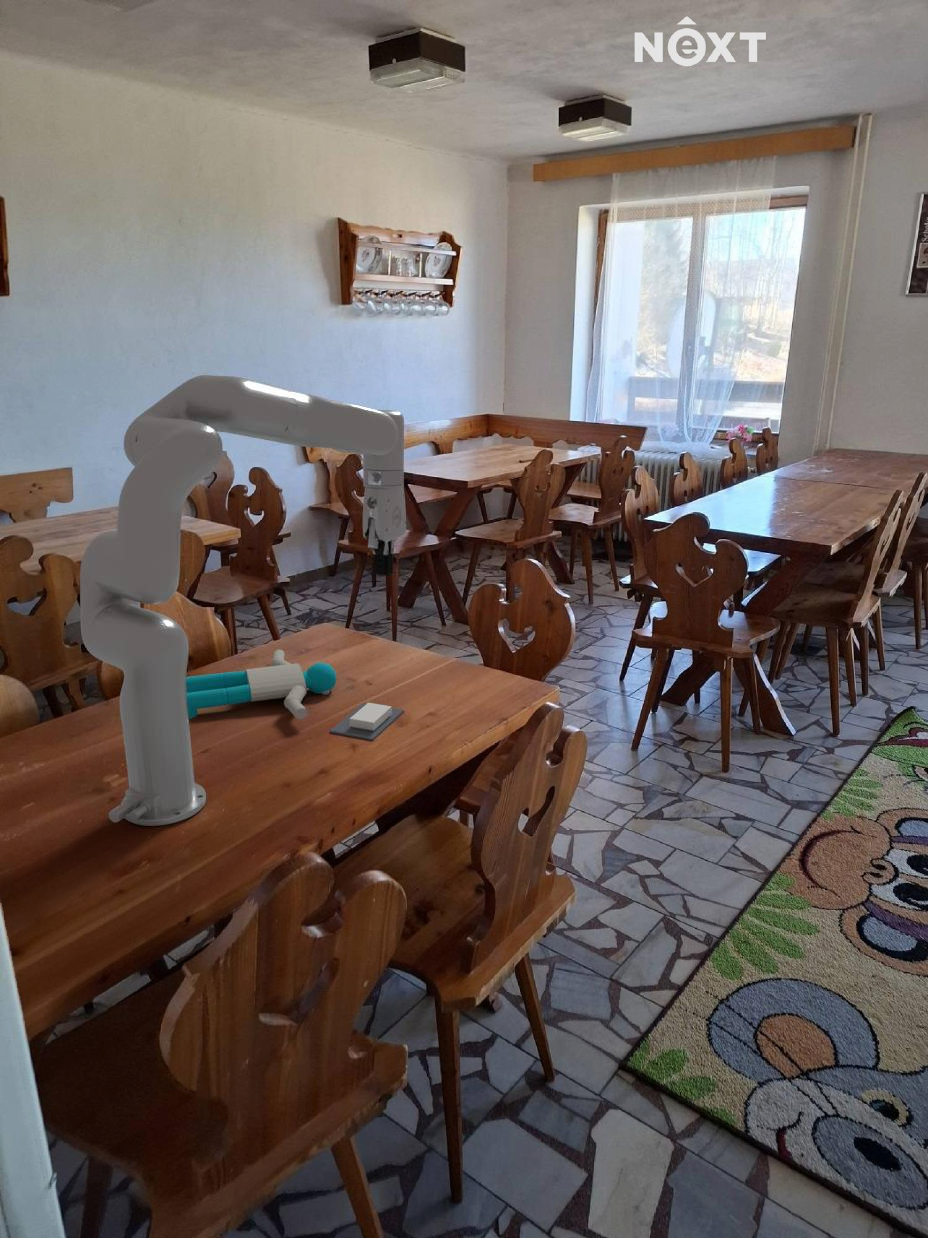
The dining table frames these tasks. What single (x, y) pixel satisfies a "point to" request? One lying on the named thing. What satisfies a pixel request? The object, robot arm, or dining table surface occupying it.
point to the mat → (347, 730)
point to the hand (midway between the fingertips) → (383, 573)
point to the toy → (260, 685)
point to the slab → (370, 716)
